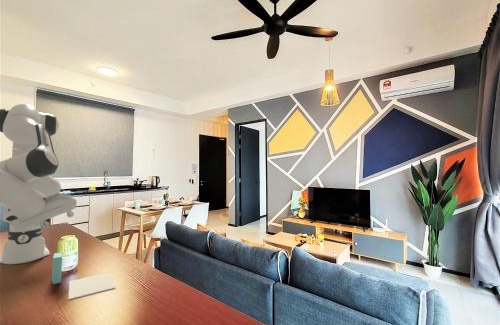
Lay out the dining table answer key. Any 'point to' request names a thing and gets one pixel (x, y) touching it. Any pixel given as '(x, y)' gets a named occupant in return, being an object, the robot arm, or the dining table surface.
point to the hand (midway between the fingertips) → (59, 220)
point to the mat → (90, 285)
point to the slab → (57, 268)
